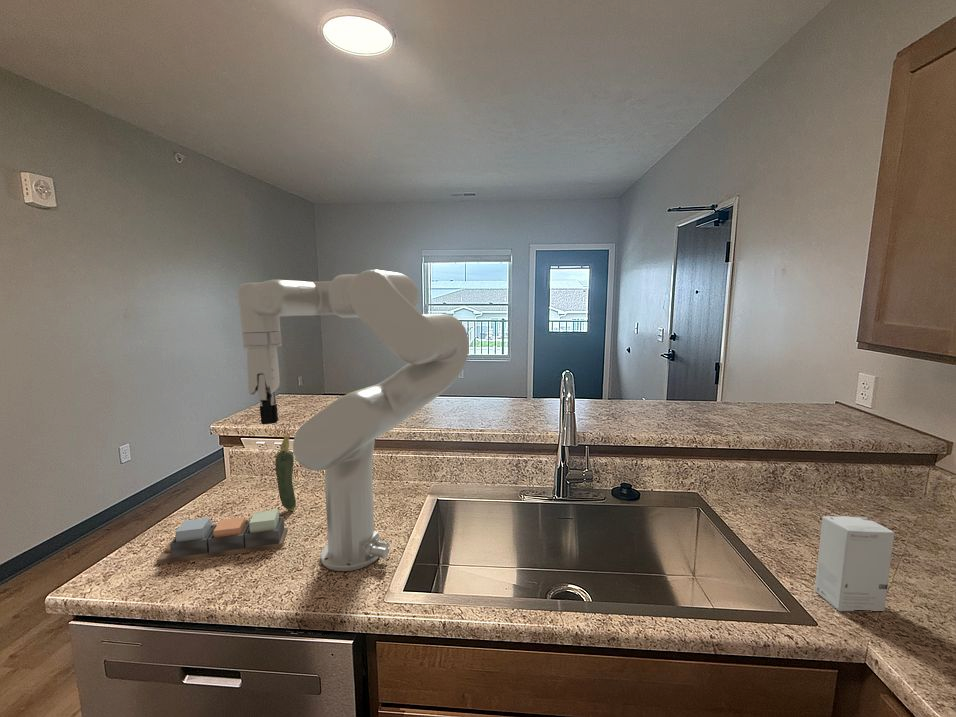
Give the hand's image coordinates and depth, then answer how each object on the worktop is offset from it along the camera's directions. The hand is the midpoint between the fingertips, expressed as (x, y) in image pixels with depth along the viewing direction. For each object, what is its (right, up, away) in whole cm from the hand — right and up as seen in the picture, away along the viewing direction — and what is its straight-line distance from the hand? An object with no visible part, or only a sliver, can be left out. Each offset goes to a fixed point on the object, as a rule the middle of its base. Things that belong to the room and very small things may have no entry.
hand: (269, 422), depth 96 cm
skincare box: (+113, -30, -18) cm, 118 cm away
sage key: (-2, -25, +1) cm, 25 cm away
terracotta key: (-8, -26, 0) cm, 27 cm away
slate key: (-15, -25, -2) cm, 30 cm away
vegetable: (-3, -26, +16) cm, 30 cm away
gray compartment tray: (-8, -27, 0) cm, 29 cm away
